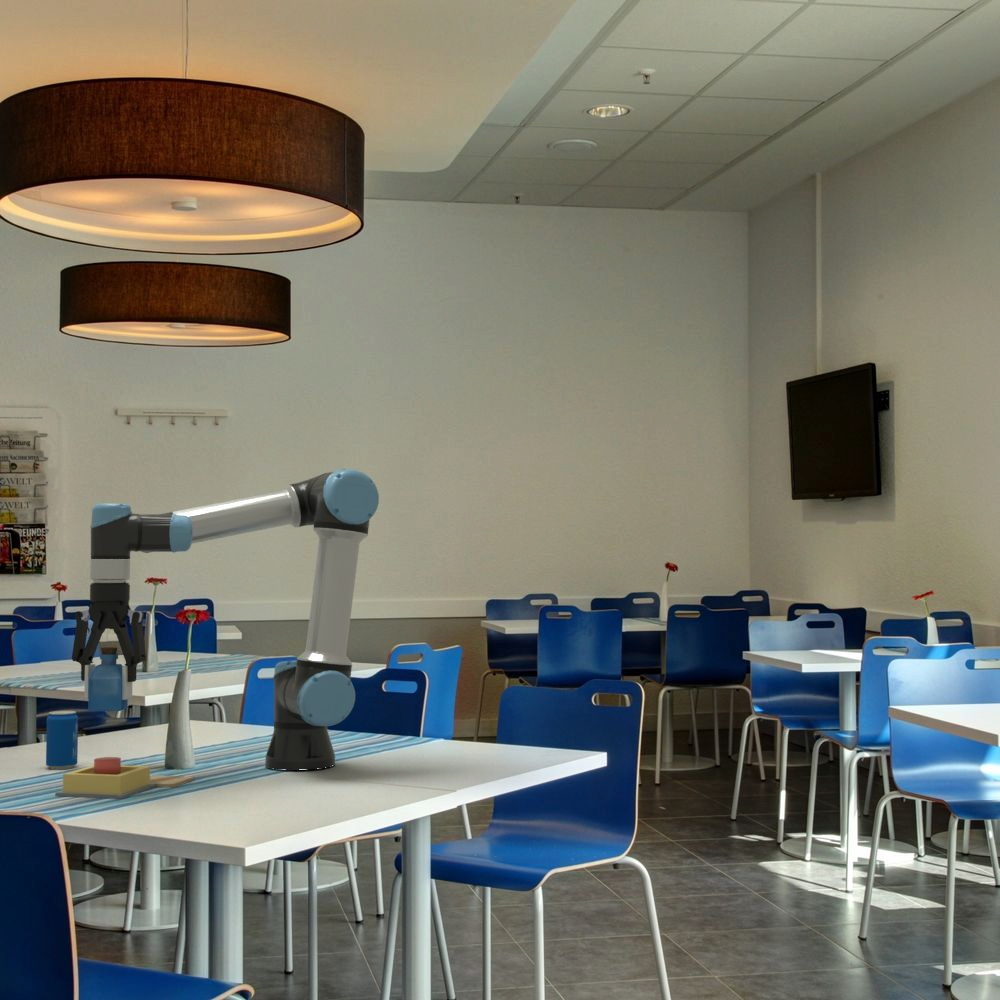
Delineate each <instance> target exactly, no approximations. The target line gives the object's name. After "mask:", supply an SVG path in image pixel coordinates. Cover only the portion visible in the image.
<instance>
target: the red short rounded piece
mask: <svg viewBox="0 0 1000 1000" xmlns="http://www.w3.org/2000/svg"><path fill="white" fill-rule="evenodd" d="M121 761H122V758H121V757H117V756H116V757H115V756H105V757H104V756H103V757H96V758H94V759H93V765H94V774H110V775H118V774H121V766H122V762H121Z"/></svg>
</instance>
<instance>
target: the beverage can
mask: <svg viewBox="0 0 1000 1000" xmlns="http://www.w3.org/2000/svg"><path fill="white" fill-rule="evenodd" d="M78 736H79V716H78V715H77V712H76V711H75V710H56V711H49V712H48V716H47V718H46V741H45V742H46V743H45V744H46V745H45V748H46V750H45V752H46V753H45V766H47V767H49V770H71V769H73V768H74V767H75V766H76V765H77V764H78V752H79V751H78V749H79V745H78V741H79V737H78Z"/></svg>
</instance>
